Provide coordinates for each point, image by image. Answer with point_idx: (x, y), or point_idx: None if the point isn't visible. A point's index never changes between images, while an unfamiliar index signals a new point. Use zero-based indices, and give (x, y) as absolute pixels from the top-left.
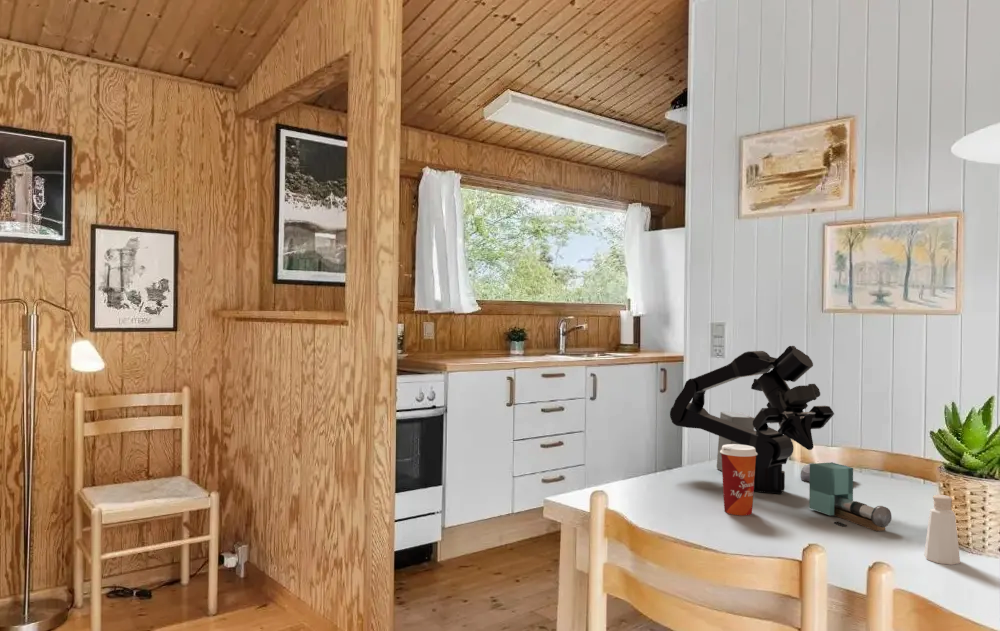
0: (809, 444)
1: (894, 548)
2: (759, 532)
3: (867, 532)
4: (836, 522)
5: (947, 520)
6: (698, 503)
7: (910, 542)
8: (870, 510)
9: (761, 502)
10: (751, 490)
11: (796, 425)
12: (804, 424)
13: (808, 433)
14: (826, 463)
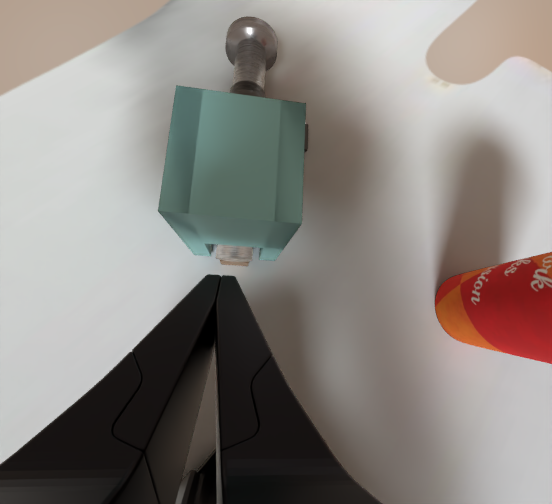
0: (235, 284)
1: (320, 6)
2: (499, 165)
3: (287, 81)
4: (306, 143)
5: None
6: (524, 422)
7: (260, 12)
8: (262, 60)
9: (348, 375)
10: (507, 263)
11: (321, 469)
12: (122, 498)
13: (171, 355)
14: (211, 202)
